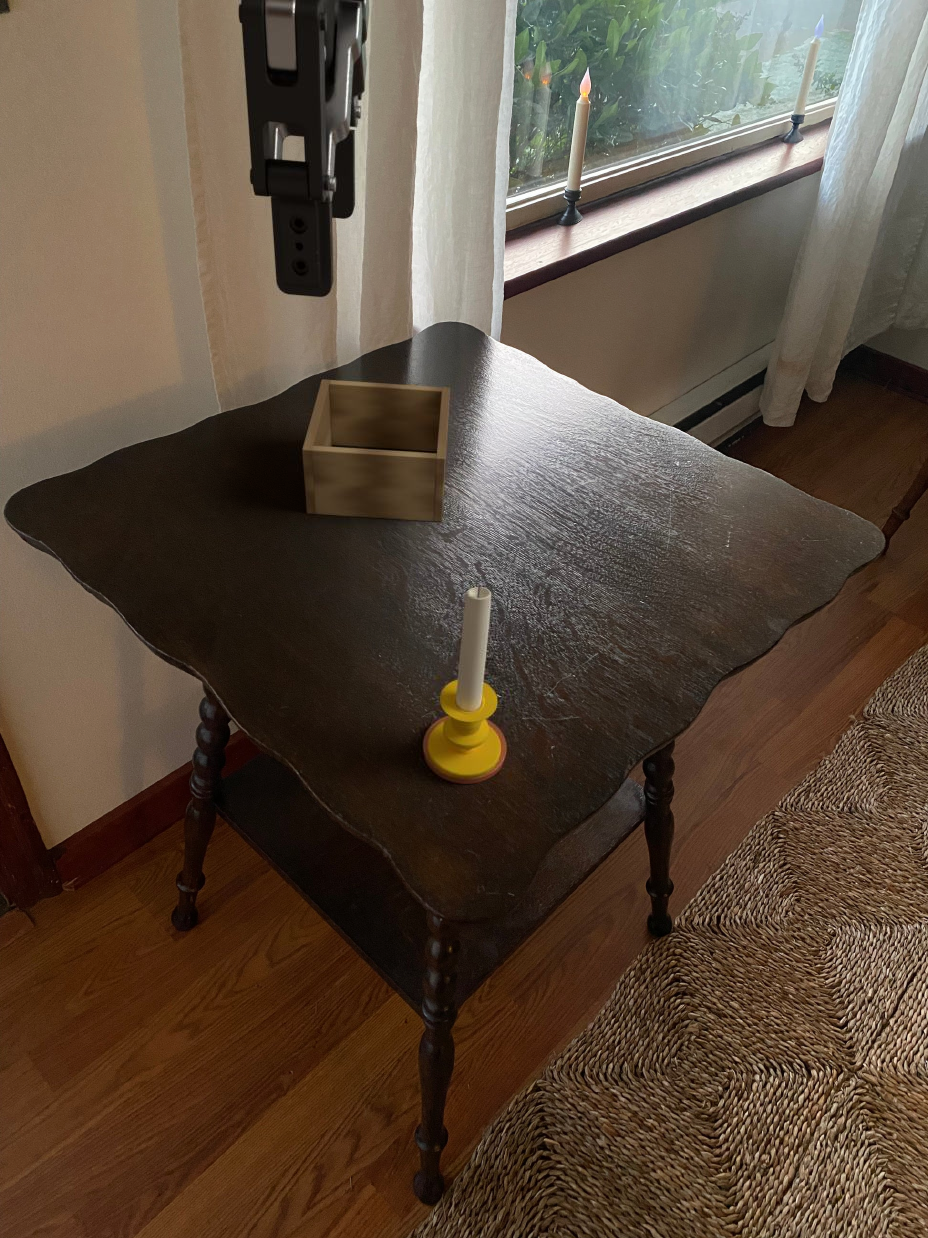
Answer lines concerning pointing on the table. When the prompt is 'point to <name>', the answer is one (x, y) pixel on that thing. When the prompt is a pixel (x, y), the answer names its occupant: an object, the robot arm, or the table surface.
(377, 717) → the table surface
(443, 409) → the crate
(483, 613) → the candle
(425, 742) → the coaster
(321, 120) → the robot arm
